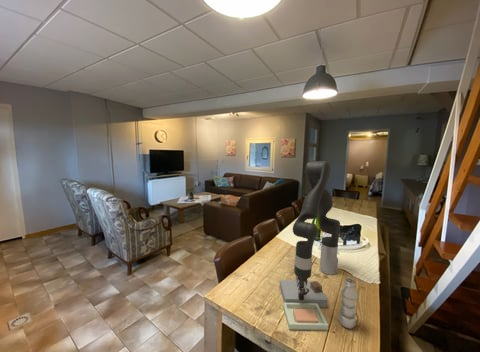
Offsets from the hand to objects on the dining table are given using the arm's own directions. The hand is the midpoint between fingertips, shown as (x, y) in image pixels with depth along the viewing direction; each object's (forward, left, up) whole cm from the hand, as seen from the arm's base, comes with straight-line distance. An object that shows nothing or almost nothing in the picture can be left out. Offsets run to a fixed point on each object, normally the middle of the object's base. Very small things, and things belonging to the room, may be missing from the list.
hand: (300, 299), depth 93 cm
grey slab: (-3, -8, -5) cm, 10 cm away
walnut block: (-10, -8, -1) cm, 13 cm away
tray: (0, +6, -5) cm, 7 cm away
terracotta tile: (0, +7, -1) cm, 8 cm away
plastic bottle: (-17, +8, -5) cm, 20 cm away
